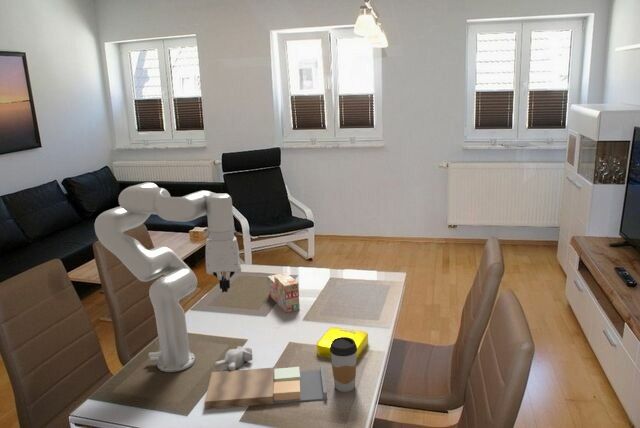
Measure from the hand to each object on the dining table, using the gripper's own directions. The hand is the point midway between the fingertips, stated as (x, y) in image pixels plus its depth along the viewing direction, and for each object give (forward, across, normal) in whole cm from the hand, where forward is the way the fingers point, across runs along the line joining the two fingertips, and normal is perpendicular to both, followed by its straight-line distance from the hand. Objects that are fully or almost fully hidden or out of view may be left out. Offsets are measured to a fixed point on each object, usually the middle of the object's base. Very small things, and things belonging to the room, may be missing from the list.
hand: (225, 290), depth 162 cm
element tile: (+30, +38, +12) cm, 50 cm away
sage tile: (+29, +19, -6) cm, 35 cm away
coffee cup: (+29, +36, -11) cm, 48 cm away
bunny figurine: (+30, +1, +6) cm, 31 cm away
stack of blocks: (+31, +17, +56) cm, 66 cm away
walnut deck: (+30, +4, -10) cm, 31 cm away
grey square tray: (+29, +22, -10) cm, 38 cm away
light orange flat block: (+29, +19, -14) cm, 37 cm away
